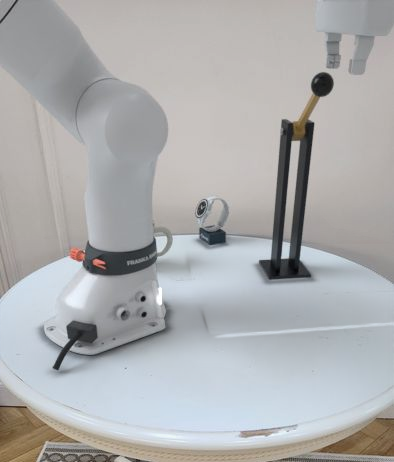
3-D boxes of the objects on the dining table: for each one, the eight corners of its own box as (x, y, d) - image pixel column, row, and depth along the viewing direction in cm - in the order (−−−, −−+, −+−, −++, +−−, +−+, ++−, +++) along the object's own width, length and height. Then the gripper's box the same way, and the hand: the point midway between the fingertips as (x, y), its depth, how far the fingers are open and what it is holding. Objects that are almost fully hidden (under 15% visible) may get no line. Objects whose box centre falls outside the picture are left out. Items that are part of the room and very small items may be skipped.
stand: (310, 279, 111) (329, 124, 95) (268, 282, 110) (280, 125, 94) (297, 262, 119) (313, 116, 103) (258, 265, 118) (268, 117, 102)
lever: (338, 87, 84) (335, 66, 84) (316, 88, 83) (313, 67, 84) (305, 143, 101) (302, 125, 101) (286, 144, 100) (284, 126, 101)
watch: (192, 241, 130) (191, 196, 124) (221, 236, 133) (222, 192, 127) (202, 249, 126) (202, 202, 120) (232, 243, 129) (233, 198, 123)
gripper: (310, -42, 77) (300, 65, 85) (367, -58, 60) (348, 78, 68) (352, -42, 78) (338, 65, 85) (419, -57, 61) (395, 78, 68)
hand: (343, 71), depth 76 cm, fingers open, 8 cm apart
